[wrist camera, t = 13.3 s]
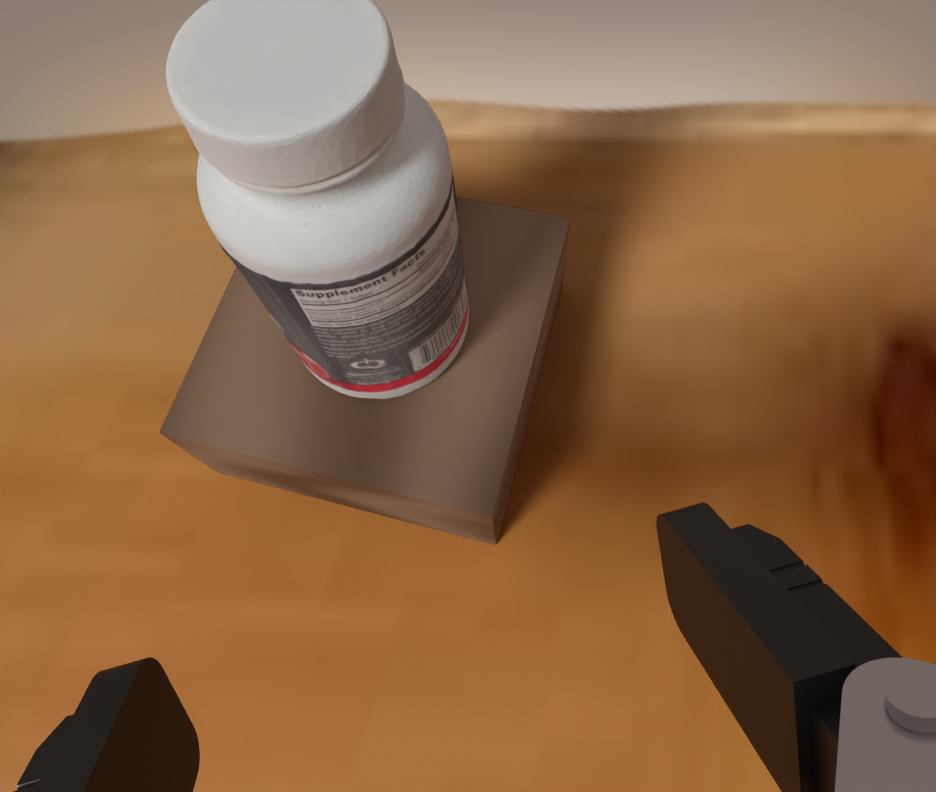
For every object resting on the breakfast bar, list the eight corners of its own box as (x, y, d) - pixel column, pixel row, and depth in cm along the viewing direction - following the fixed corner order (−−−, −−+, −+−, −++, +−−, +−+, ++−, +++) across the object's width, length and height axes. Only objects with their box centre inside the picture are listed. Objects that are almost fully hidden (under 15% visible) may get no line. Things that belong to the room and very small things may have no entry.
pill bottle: (275, 284, 21) (99, -3, 12) (433, 226, 22) (376, -92, 13) (324, 432, 19) (157, 220, 10) (498, 364, 20) (483, 103, 11)
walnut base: (215, 471, 23) (159, 432, 20) (315, 236, 27) (283, 166, 23) (496, 544, 22) (491, 517, 18) (562, 284, 25) (570, 217, 22)
